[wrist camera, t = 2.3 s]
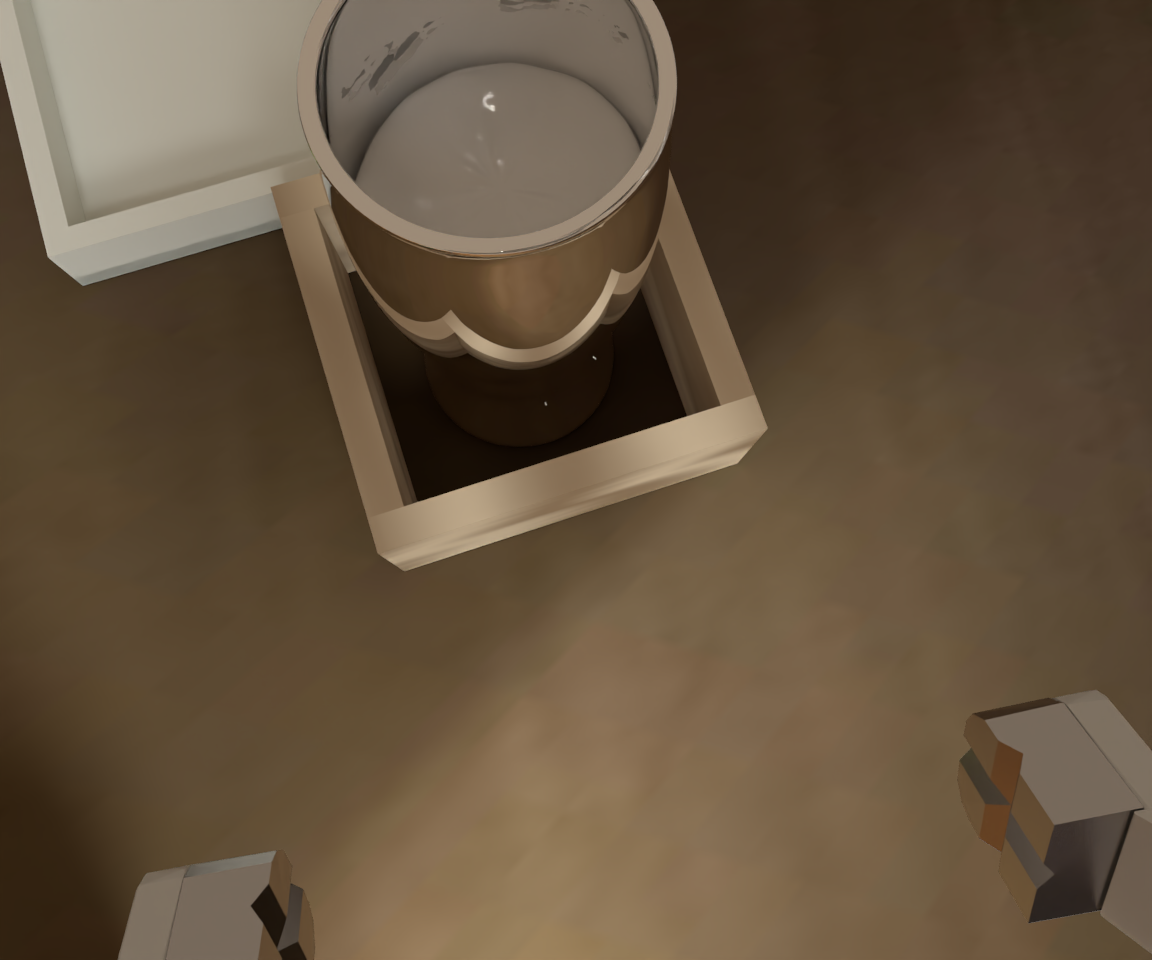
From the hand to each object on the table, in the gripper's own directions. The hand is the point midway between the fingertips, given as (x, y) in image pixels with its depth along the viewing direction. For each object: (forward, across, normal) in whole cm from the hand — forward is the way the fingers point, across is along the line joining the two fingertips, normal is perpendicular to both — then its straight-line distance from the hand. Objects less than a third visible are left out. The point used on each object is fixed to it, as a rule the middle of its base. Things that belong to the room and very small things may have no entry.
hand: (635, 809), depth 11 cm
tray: (+30, +8, -5) cm, 31 cm away
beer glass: (+21, 0, +4) cm, 22 cm away
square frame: (+21, 0, +4) cm, 21 cm away
